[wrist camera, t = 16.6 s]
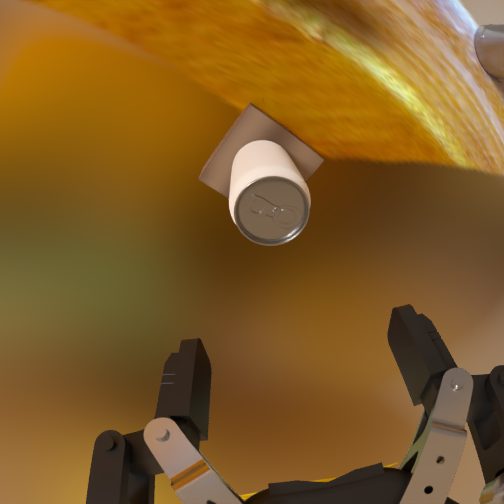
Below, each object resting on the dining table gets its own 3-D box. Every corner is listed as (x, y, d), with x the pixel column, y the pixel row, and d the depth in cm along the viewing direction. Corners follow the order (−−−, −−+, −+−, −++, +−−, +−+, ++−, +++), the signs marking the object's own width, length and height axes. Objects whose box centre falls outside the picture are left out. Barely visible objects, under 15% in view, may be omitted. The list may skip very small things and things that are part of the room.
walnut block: (312, 148, 37) (324, 160, 32) (266, 205, 41) (269, 225, 36) (249, 102, 34) (251, 105, 29) (204, 165, 38) (198, 179, 33)
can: (276, 203, 35) (291, 261, 24) (223, 182, 33) (215, 234, 23) (301, 153, 31) (330, 191, 21) (245, 130, 30) (248, 156, 20)
